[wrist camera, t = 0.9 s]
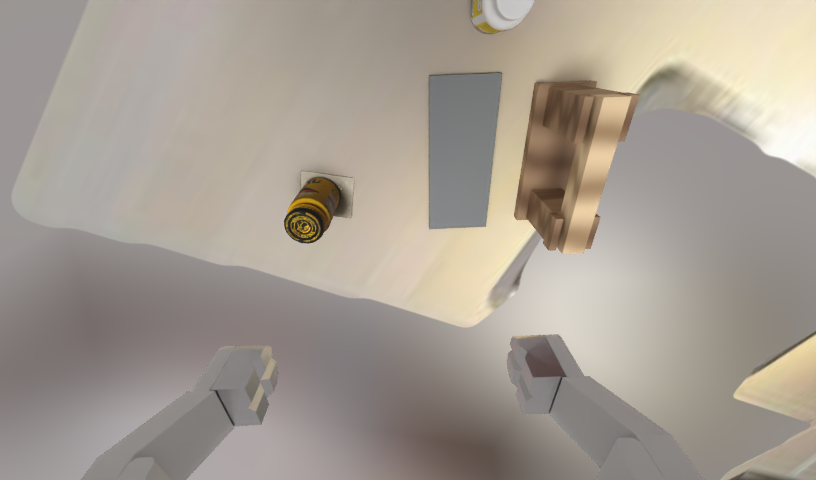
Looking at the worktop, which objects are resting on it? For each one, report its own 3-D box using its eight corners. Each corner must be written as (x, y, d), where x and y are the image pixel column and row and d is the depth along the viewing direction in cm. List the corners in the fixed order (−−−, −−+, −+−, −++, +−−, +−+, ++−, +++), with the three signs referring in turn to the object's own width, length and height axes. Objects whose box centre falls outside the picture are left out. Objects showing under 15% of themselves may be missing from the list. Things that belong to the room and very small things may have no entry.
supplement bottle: (518, 17, 40) (550, 8, 32) (479, 43, 41) (500, 40, 33) (502, -30, 38) (533, -54, 29) (462, -1, 39) (480, -16, 30)
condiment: (300, 170, 49) (275, 201, 39) (354, 177, 50) (343, 209, 40) (301, 211, 53) (279, 249, 43) (351, 217, 54) (341, 256, 44)
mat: (429, 75, 43) (429, 76, 43) (500, 72, 43) (502, 72, 43) (429, 227, 55) (429, 229, 55) (484, 224, 55) (485, 226, 55)
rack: (534, 83, 44) (576, 92, 34) (591, 80, 44) (650, 89, 34) (514, 216, 55) (541, 253, 44) (559, 214, 55) (596, 251, 45)
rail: (588, 94, 36) (603, 97, 33) (614, 93, 36) (631, 96, 33) (553, 242, 46) (562, 253, 43) (573, 241, 46) (583, 252, 43)
